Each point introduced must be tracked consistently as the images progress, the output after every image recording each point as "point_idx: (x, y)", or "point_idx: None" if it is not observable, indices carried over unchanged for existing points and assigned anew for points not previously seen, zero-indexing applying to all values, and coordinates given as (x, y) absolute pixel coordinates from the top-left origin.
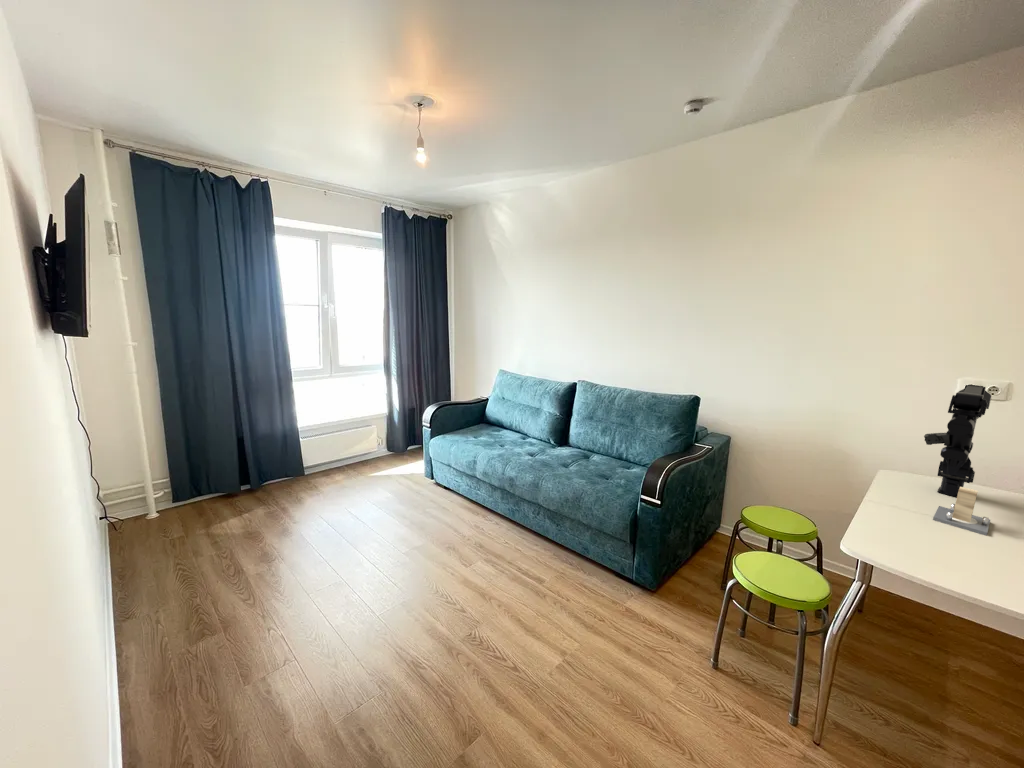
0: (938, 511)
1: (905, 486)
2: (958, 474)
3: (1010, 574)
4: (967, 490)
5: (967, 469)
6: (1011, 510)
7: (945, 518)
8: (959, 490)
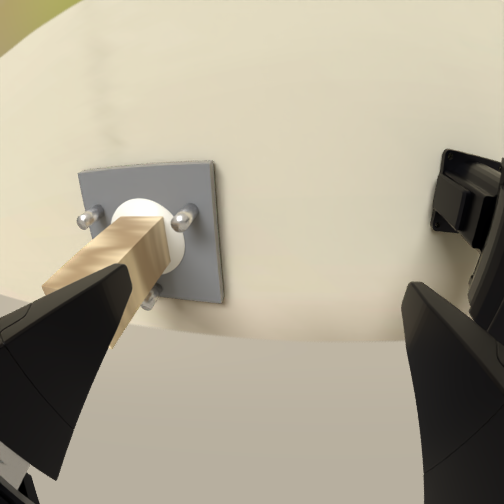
0: (139, 173)
1: (420, 32)
2: (478, 267)
3: (19, 296)
4: None
5: (487, 330)
6: None
7: (99, 201)
8: (43, 288)
